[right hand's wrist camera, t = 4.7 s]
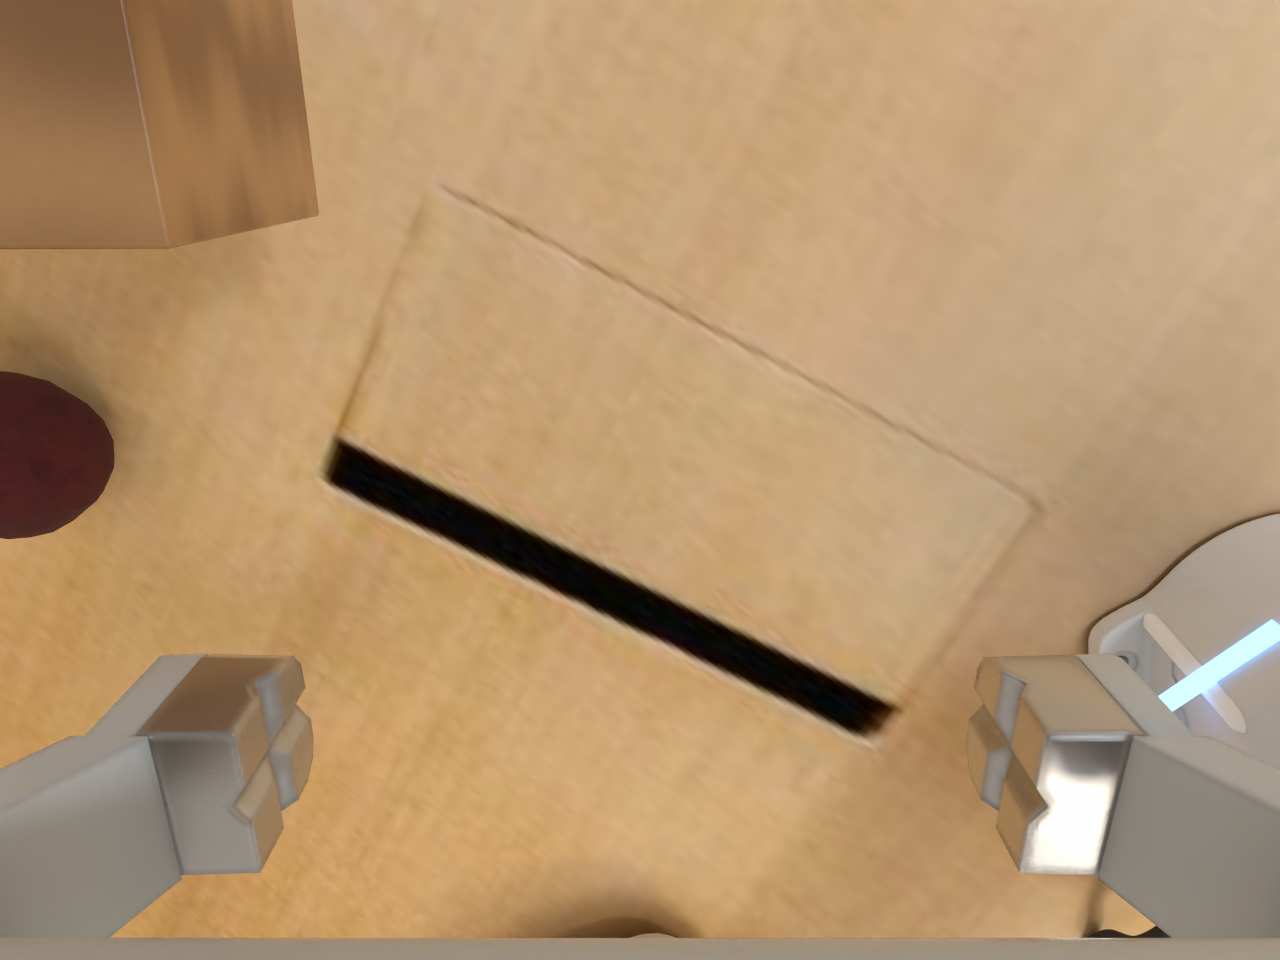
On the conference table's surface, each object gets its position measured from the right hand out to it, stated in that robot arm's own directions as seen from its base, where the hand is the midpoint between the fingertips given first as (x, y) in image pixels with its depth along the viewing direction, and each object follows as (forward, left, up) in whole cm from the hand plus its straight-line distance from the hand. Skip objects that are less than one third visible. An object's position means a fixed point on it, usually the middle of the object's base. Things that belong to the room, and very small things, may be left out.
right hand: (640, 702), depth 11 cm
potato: (-6, +27, -31) cm, 42 cm away
